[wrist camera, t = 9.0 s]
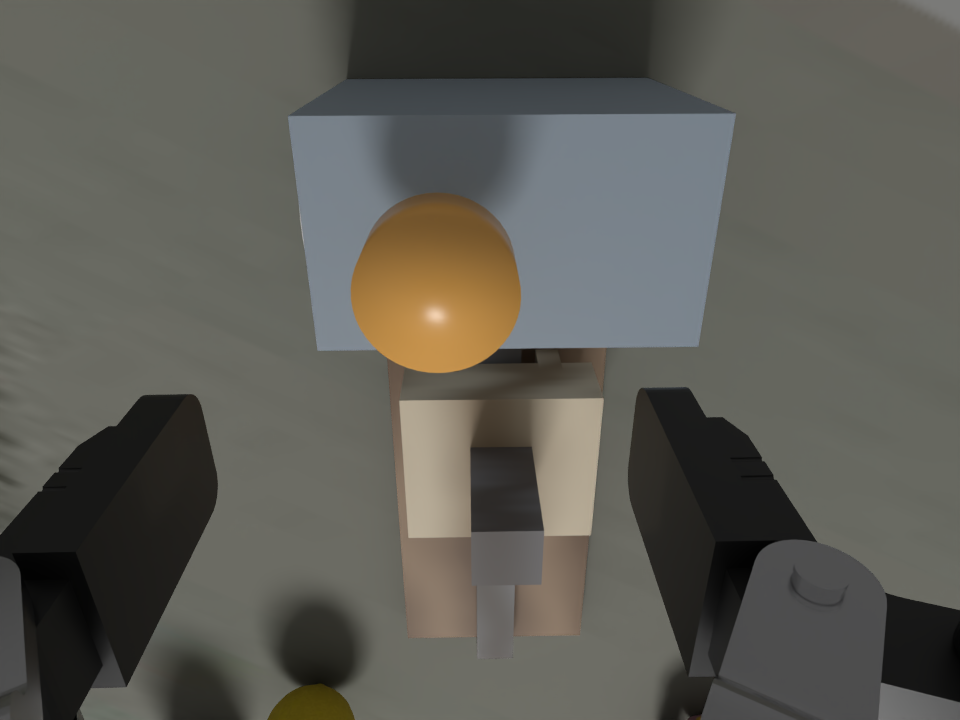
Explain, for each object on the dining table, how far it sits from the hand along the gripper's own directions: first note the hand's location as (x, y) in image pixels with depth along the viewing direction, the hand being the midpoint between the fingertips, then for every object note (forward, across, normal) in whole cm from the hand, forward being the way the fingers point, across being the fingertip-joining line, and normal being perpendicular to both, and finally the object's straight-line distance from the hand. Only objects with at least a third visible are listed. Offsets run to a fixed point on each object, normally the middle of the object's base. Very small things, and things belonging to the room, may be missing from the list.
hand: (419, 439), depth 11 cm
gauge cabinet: (+20, -2, 0) cm, 20 cm away
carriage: (+18, -2, +11) cm, 21 cm away
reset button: (+8, 0, 0) cm, 8 cm away
